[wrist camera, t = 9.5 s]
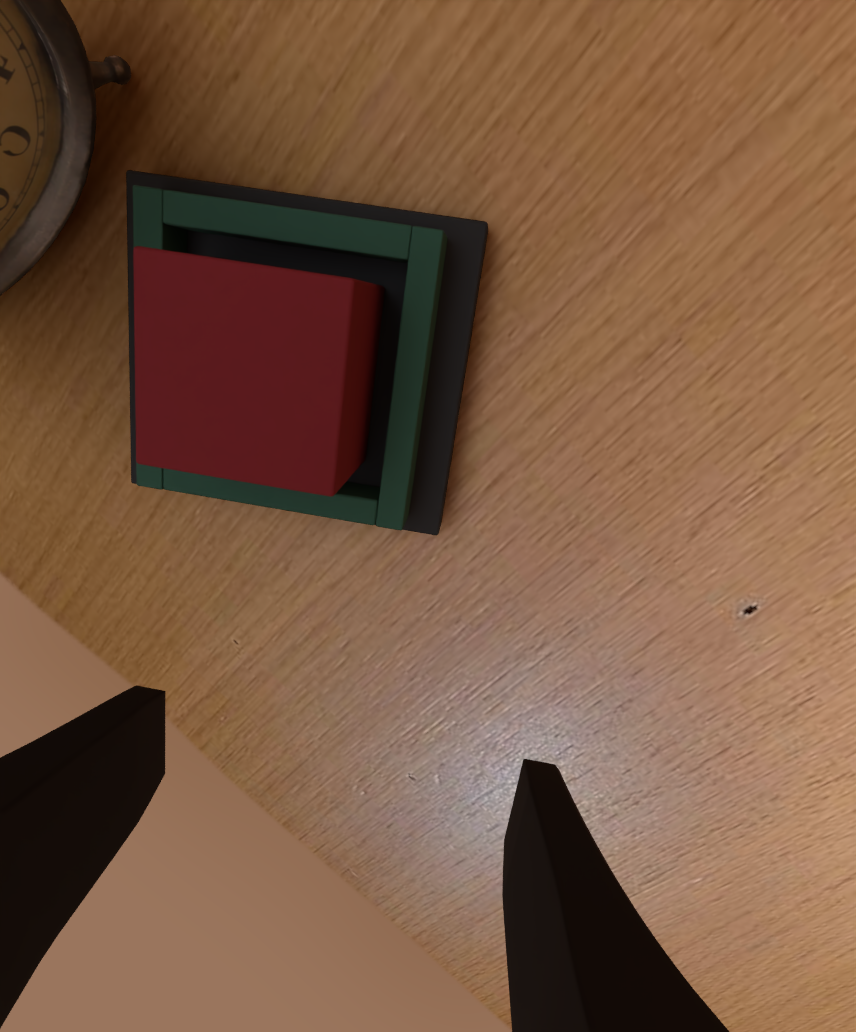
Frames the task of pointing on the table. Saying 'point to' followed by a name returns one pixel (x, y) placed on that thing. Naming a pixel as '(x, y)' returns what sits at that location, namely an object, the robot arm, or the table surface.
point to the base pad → (403, 335)
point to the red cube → (253, 370)
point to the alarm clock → (43, 127)
